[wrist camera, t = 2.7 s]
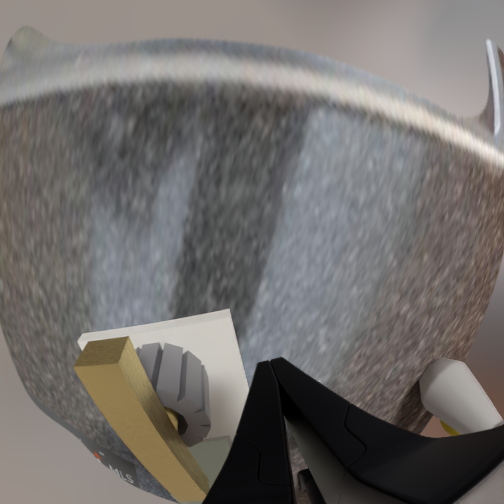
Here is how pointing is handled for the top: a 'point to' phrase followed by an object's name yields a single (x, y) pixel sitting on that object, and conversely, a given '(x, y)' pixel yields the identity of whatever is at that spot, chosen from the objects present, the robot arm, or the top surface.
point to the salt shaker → (457, 397)
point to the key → (140, 415)
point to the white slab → (192, 371)
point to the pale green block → (209, 460)
